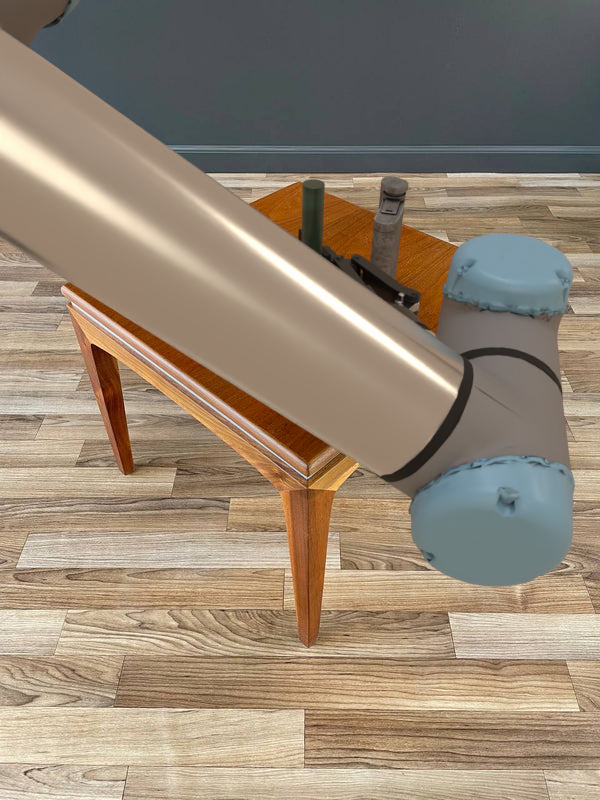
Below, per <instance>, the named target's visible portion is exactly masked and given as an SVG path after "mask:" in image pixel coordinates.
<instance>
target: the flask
mask: <svg viewBox="0 0 600 800" xmlns="http://www.w3.org/2000/svg"><path fill="white" fill-rule="evenodd" d="M408 190H409V182H408V181H407V180H406V179H403V178H401V177H399V176H394V175H387V176H383V177H382V178H381V180H380V190H379V200H378V201H379V202H378V210H377V213H376V214H375V215H374V217H373V227H372V238H371V249H370V259H369V261H370V262H371V263H372V264H374V265H375V266H377V267H378V268H379V269H381V270H382V271H384V272H385V273H386V274H388V275H389V276H391V277H392V278H393V279H395V280H396V279H397V278H396V277H397V269H398V262H399V254H400V245H401V237H402V227H403V221H404V212H405V203H406V196H407V191H408Z"/></svg>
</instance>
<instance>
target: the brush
mask: <svg viewBox="0 0 600 800" xmlns="http://www.w3.org/2000/svg"><path fill="white" fill-rule="evenodd" d="M325 189H326V184H325V182H324V180H321V179H315V178H313V179H312V178H311V179H306V180H304V181H302V183H301V229H302V235H301V242H303V243H304V244H305V245H307V246H308V247H310V248H311V249H313V250H314V251H315V252H317V253H318V254H320V255H321V256H322V247H323V246H324V245H323V243H324V218H325V217H324V216H325V194H326V193H325Z"/></svg>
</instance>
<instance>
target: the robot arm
mask: <svg viewBox="0 0 600 800" xmlns="http://www.w3.org/2000/svg"><path fill="white" fill-rule="evenodd" d="M80 2H81V0H0V240H1V241H2V242H5V243H6V244H8V245H9V246H10V247H12V248H14V249H16V250H17V251H19V252H20V253H22V254H24V255H25V256H27V257H28V258H30V259H32V261H35V262H36V263H38V264H39V265H41V266H43V267H44V268H45V269H47V270H49V271H50V272H52V273H54V274H56V275H57V276H58V277H60V278H62V279H64V280H65V281H67V282H68V283H70V284H72V285H73V286H74V287H76V288H77V289H79V290H81V291H82V292H83V293H86V294H87V295H89V296H90V297H92V298H94V299H95V300H97V301H98V302H100V303H102V304H103V305H105V306H106V307H108V308H110V309H111V310H113V311H115V312H116V313H118V314H119V315H121V316H123V317H124V318H125V319H127V320H129V321H131V322H132V323H134V324H135V325H137V326H138V327H140V328H141V329H143V330H145V331H146V332H148V333H150V334H151V335H152V336H154V337H156V338H158V339H159V340H161V341H163V342H164V343H166V344H167V345H168V346H170V347H172V348H173V349H175V350H177V351H178V352H180V353H182V354H183V355H185V356H187V357H188V358H189V359H191V360H193V361H194V362H196V363H197V364H199V365H201V366H202V367H204V368H206V369H207V370H208V371H210V372H212V373H214V374H215V375H217V376H219V377H220V378H221V379H223V380H225V381H226V382H228V383H230V384H231V385H233V386H234V387H236V388H237V389H239V390H241V391H242V392H243V393H245V394H247V395H249V396H250V397H251V398H253V399H255V400H257V401H258V402H260V403H261V404H262V405H265V406H266V407H268V408H270V409H271V410H273V411H274V412H276V413H277V414H279V415H281V416H282V417H284V418H286V419H287V420H289V421H290V422H292V423H293V424H294V425H296V426H298V427H300V428H301V429H303V430H304V431H306V432H308V433H310V434H311V435H313V436H314V437H315V438H317V439H319V440H321V441H322V442H324V443H325V444H327V445H329V446H330V447H331V448H334V449H335V450H336V451H338V452H339V453H341V454H343V455H344V456H346V457H347V458H349V459H351V460H352V461H353V462H356V463H357V464H359V465H360V466H362V467H364V468H365V469H367V470H368V471H370V472H372V473H373V474H374V475H375V476H376V477H378V478H379V479H381V480H383V481H384V482H385V483H387V484H388V485H390V486H392V487H393V488H394V489H396V490H398V491H399V492H401V493H403V494H404V495H406V496H407V497H409V498H410V499H411V501H410V503H409V507H408V512H407V513H408V514H409V515H410V534H411V539H412V541H413V544H414V545H415V546H416V548H417V549H418V551H419V552H420V553H421V554H422V556H423V559H424V561H425V562H426V563H427V564H428V565H429V566H431V567H432V568H433V569H435V570H436V571H438V572H439V573H441V574H443V575H445V576H447V577H449V578H451V579H453V580H456V581H460V582H463V583H466V584H470V585H475V586H480V587H481V586H482V587H493V588H494V587H495V588H496V587H497V588H500V587H513V586H518V585H522V584H527V583H530V582H532V581H534V580H535V579H537V578H538V577H544V576H545V575H546V574H550V573H551V572H552V571H554V570H555V569H556V568H558V567H559V566H560V565H561V564H562V563H563V562H564V560H565V559H566V557H567V556H568V554H569V552H570V549H571V547H572V544H573V538H574V494H575V490H576V489H575V488H576V484H575V483H576V481H575V478H574V474H573V472H572V467H571V460H570V459H571V458H570V450H569V449H570V448H569V442H568V434H567V425H566V417H565V408H564V398H563V394H564V393H563V384H562V372H561V371H562V370H561V361H560V352H559V341H558V335H559V328H560V324H561V321H562V318H563V316H564V314H565V313H567V312H568V310H569V306H570V305H569V302H568V300H569V296H570V292H571V289H572V284H573V281H574V269H573V266H572V264H571V262H570V260H569V258H568V257H567V256H566V255H565V254H564V253H563V252H562V251H561V250H559V249H558V248H556V247H555V246H553V245H552V244H550V243H548V242H546V241H543V240H541V239H538V238H535V237H532V236H528V235H523V234H515V233H508V232H507V233H506V232H497V233H496V232H493V233H486V234H482V235H481V234H480V235H478V236H474V237H471V238H470V239H468V240H466V241H464V242H463V243H461V244H460V245H459V246H458V247H457V248H456V249H455V251H454V253H453V255H452V257H451V260H450V265H449V269H448V271H447V276H446V281H445V283H444V284H442V299H441V300H442V301H441V305H440V310H439V316H438V320H437V321H438V322H437V327H436V332H434V331H433V330H431V329H430V327H429V326H427V324H426V323H425V322H423V321H422V319H420V318H419V317H418V316H419V309H420V303H421V298H422V293H421V291H419V290H416V289H414V288H411V287H409V286H406V285H403V284H402V283H401V282H399V281H398V280H396V278H395V279H393V278H392V277H391V276H389V275H388V274H386V273H385V272H384V271H382V270H381V269H379V268H378V267H377V266H375V265H374V264H372V263H371V262H370V260H368V259H367V258H365V257H364V256H363V255H362V254H358V253H355V254H352V255H351V256H350V258H345V256H343V255H341V254H338V253H336V252H335V250H333V249H332V247H331V246H329V245H327V244H325V245H323V247H322V256H321V255H320V254H318V253H317V252H315V251H314V250H313V249H311V248H310V247H308V246H307V245H305V244H304V243H303V242H301V235H302V228H298V238H297V237H296V236H295V235H293V234H292V233H291V232H289V231H288V230H286V229H285V228H283V227H281V226H280V225H279V224H277V223H276V222H274V221H273V220H272V219H270V217H268V216H266V215H264V213H262V212H261V211H260V210H258V209H256V208H255V207H253V206H252V205H251V204H249V203H248V202H246V201H245V200H244V199H242V198H241V197H240V196H238V195H237V194H236V193H234V192H232V191H231V190H230V189H228V188H227V187H225V186H224V185H223V184H221V183H220V182H219V181H217V180H216V179H214V178H213V177H212V176H210V175H209V174H208V173H206V172H205V171H203V170H201V169H200V168H199V167H197V166H196V165H195V164H193V163H192V162H190V161H189V160H188V159H186V158H184V157H183V156H182V155H181V154H180V153H178V152H176V151H175V150H173V149H172V148H171V147H169V146H168V145H167V144H165V143H164V142H162V141H161V140H159V139H158V138H157V137H155V136H154V135H153V134H151V133H150V132H149V131H147V130H146V129H144V128H143V127H141V126H140V125H138V124H137V123H135V121H133V120H131V119H130V118H128V117H127V116H126V115H124V114H123V113H121V112H120V111H118V110H117V109H116V108H114V107H113V106H112V105H110V104H109V103H107V102H106V100H103V99H102V98H100V97H99V96H98V95H96V94H95V93H94V92H92V91H91V90H89V89H88V88H86V87H85V86H84V85H82V84H81V83H79V82H78V81H77V80H75V79H74V78H72V77H71V76H69V75H68V74H67V73H65V72H64V71H63V70H61V69H60V68H58V67H57V66H56V65H54V64H53V63H51V62H50V61H48V59H45V58H44V57H43V56H42V55H40V54H39V53H37V51H34V49H32V48H30V46H31V44H32V42H33V41H34V39H35V37H36V36H37V35H38V33H40V31H41V30H42V29H49V28H52V27H55V26H57V25H59V24H61V23H63V22H64V20H65V18H66V17H67V16H68V15H69V14H70V13H72V11H73V10H75V8H76V7H77V6H78V5H79V3H80Z"/></svg>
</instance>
